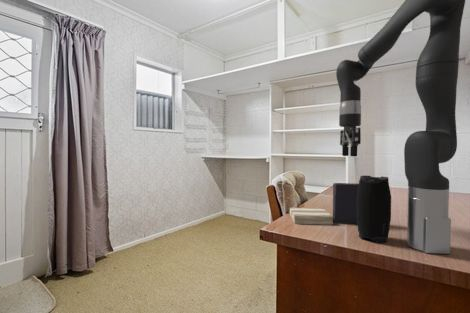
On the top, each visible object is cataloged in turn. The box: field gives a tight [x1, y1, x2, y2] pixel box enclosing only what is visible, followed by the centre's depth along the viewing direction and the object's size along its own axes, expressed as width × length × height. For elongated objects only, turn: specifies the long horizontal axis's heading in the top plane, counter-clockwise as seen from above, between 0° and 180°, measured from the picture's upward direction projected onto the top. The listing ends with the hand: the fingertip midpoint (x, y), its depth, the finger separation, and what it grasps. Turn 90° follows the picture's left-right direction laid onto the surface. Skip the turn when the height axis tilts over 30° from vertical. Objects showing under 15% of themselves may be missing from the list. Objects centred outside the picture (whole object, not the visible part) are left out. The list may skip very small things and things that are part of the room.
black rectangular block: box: [332, 182, 359, 225], centre depth 95 cm, size 11×4×15 cm, turn 84°
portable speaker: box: [356, 175, 392, 244], centre depth 77 cm, size 9×9×20 cm
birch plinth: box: [289, 206, 334, 226], centre depth 100 cm, size 14×14×3 cm
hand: (349, 156), depth 95 cm, fingers open, 8 cm apart
